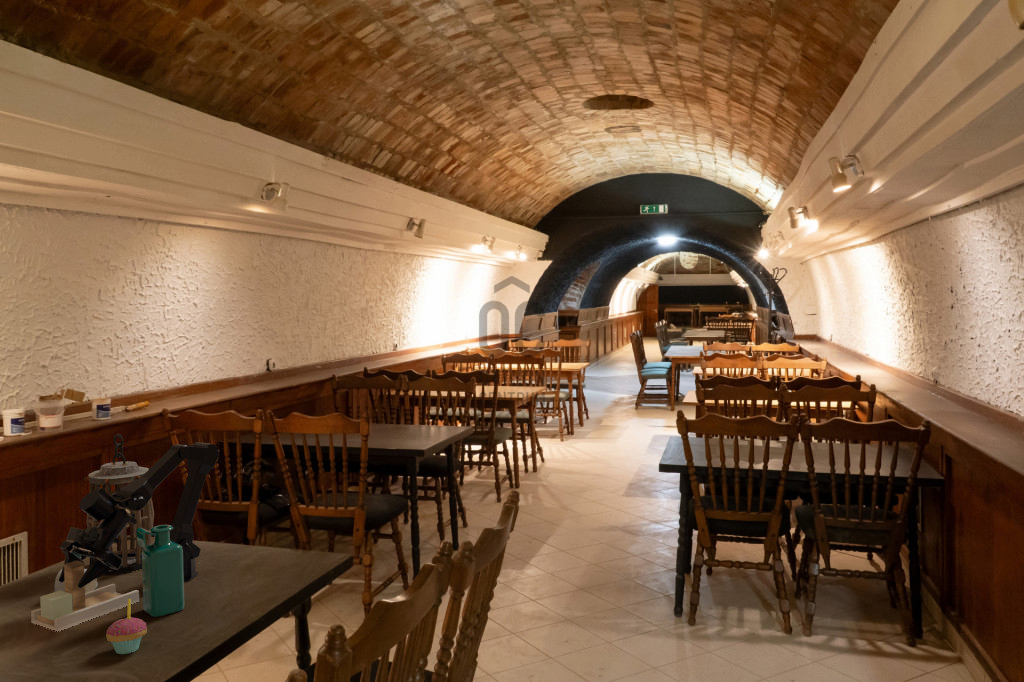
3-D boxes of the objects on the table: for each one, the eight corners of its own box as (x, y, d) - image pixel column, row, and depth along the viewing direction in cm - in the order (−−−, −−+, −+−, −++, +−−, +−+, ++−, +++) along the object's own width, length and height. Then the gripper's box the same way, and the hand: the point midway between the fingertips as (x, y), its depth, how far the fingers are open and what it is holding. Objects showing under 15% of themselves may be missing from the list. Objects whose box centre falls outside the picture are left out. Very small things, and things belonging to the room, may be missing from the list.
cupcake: (116, 642, 189) (114, 592, 188) (153, 641, 190) (152, 591, 189) (100, 659, 180) (98, 606, 180) (139, 657, 181) (138, 605, 180)
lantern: (171, 557, 250) (167, 429, 248) (128, 578, 231) (123, 440, 229) (117, 553, 254) (113, 427, 252) (70, 573, 236) (66, 438, 233)
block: (60, 609, 203) (60, 590, 203) (72, 613, 201) (71, 593, 201) (40, 616, 199) (40, 596, 199) (52, 620, 197) (52, 600, 196)
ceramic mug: (83, 601, 214) (83, 572, 214) (53, 600, 215) (53, 572, 214) (105, 587, 225) (105, 560, 225) (77, 587, 225) (76, 559, 225)
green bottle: (173, 600, 214) (171, 519, 213) (187, 609, 208) (184, 525, 207) (135, 611, 208) (133, 527, 206) (148, 620, 201) (145, 533, 200)
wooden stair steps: (106, 595, 216) (105, 549, 215) (124, 600, 212) (123, 553, 211) (37, 619, 200) (35, 569, 199) (55, 625, 196) (53, 575, 195)
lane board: (113, 594, 219) (113, 583, 219) (139, 601, 214) (138, 590, 214) (31, 623, 200) (31, 611, 200) (57, 632, 195) (57, 620, 194)
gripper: (65, 509, 211) (24, 562, 202) (110, 518, 202) (68, 575, 193) (95, 531, 218) (56, 583, 209) (139, 541, 209) (100, 597, 200)
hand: (69, 584), depth 203 cm, fingers open, 8 cm apart
